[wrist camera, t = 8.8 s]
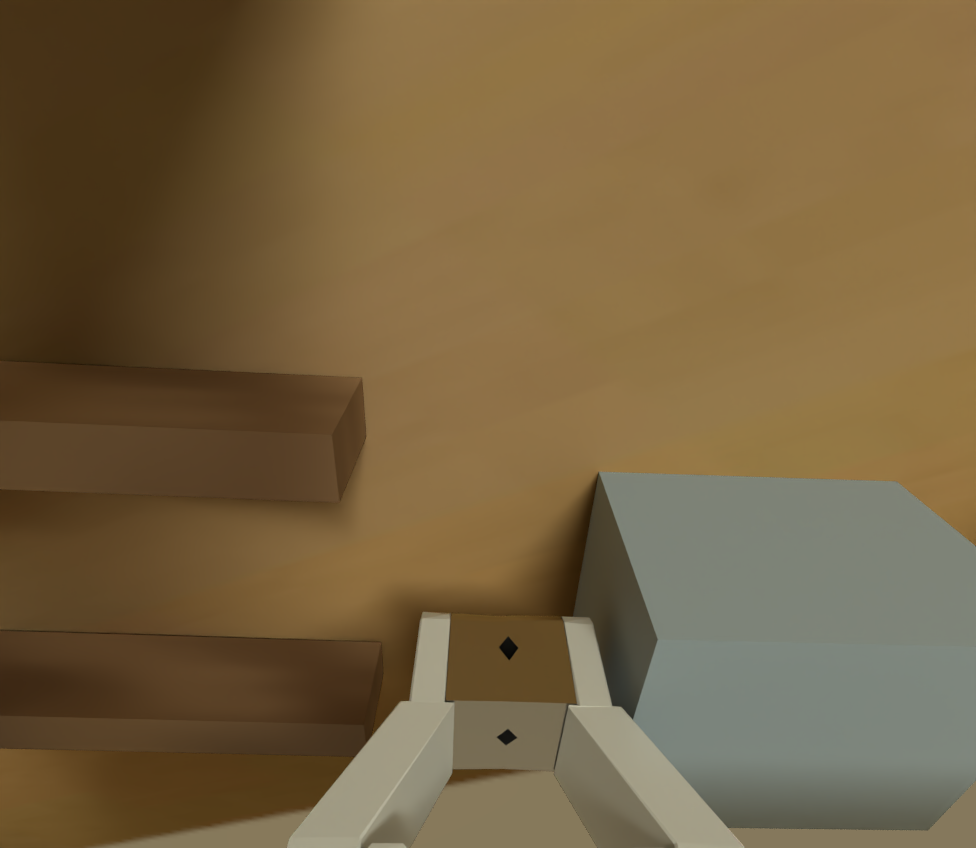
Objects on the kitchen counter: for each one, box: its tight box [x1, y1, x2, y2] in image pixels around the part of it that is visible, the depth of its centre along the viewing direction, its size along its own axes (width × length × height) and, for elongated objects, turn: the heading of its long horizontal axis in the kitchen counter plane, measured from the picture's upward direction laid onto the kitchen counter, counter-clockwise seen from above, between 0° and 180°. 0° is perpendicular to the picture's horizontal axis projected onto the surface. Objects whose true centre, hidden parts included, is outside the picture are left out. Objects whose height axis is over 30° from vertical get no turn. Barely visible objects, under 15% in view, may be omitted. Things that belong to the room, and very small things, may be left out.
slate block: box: [573, 472, 976, 830], centre depth 10 cm, size 6×5×4 cm
